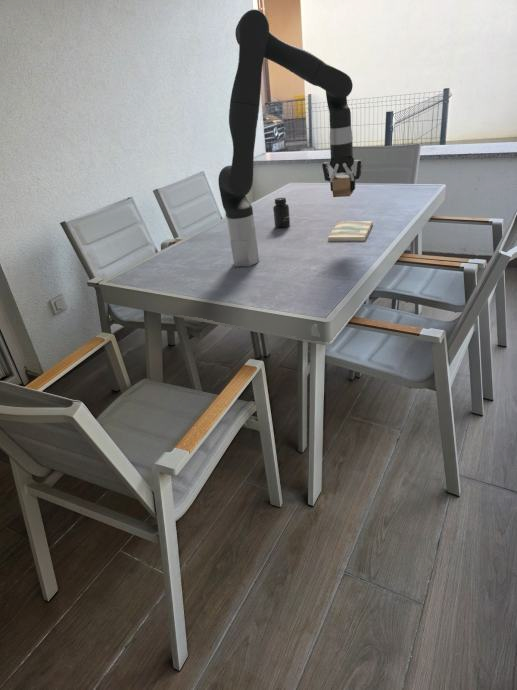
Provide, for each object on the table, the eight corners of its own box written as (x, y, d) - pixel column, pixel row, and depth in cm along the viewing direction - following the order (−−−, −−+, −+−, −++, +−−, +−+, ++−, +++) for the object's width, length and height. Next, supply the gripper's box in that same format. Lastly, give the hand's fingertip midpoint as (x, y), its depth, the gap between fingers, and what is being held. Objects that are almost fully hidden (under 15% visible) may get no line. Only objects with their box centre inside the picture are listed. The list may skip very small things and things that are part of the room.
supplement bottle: (289, 228, 192) (286, 200, 186) (273, 229, 194) (270, 201, 187) (291, 223, 198) (288, 196, 192) (276, 224, 199) (273, 197, 193)
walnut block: (349, 196, 157) (349, 178, 153) (333, 197, 159) (332, 179, 156) (353, 191, 161) (352, 174, 158) (336, 192, 163) (336, 175, 160)
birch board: (364, 240, 166) (364, 236, 165) (328, 241, 171) (327, 237, 170) (372, 224, 181) (372, 220, 181) (338, 225, 187) (338, 221, 186)
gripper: (317, 145, 151) (321, 195, 159) (360, 141, 145) (361, 193, 154) (323, 141, 157) (326, 190, 165) (364, 137, 151) (365, 188, 160)
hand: (343, 191), depth 159 cm, fingers closed on walnut block, 6 cm apart
